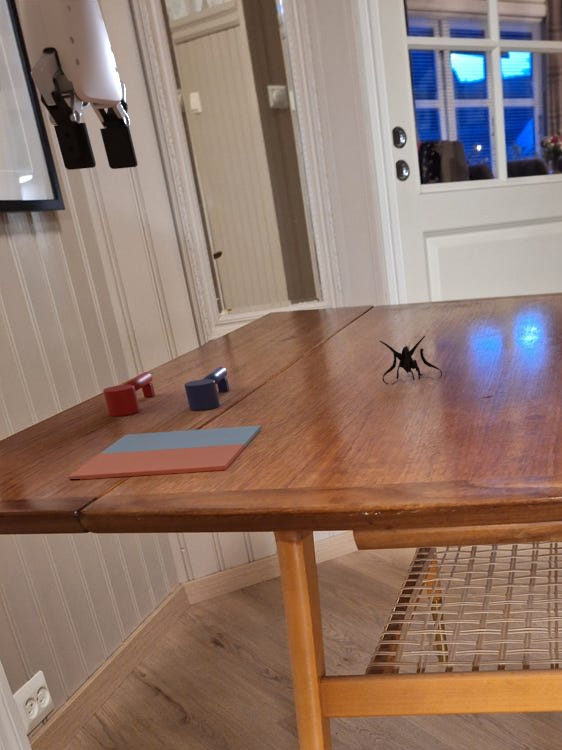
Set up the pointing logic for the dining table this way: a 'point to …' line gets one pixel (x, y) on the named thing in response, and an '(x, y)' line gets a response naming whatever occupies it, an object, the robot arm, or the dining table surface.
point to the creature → (407, 361)
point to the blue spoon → (207, 390)
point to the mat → (169, 453)
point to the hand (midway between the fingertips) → (103, 168)
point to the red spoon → (128, 395)
